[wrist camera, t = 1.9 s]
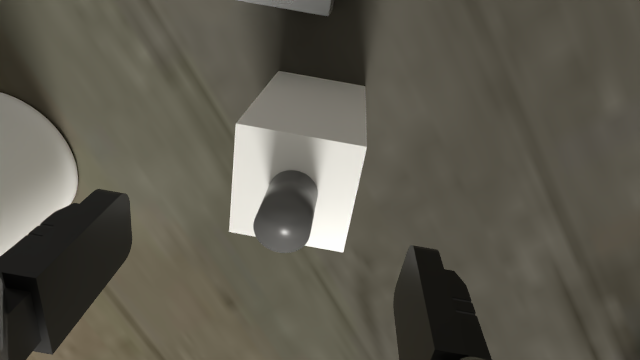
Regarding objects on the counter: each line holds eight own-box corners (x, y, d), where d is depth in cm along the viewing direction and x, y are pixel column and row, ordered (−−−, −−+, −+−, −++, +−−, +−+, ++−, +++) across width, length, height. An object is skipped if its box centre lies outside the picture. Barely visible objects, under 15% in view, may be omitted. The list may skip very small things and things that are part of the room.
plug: (365, 86, 21) (367, 179, 12) (348, 164, 23) (340, 295, 14) (278, 70, 21) (213, 151, 12) (269, 150, 23) (208, 272, 14)
